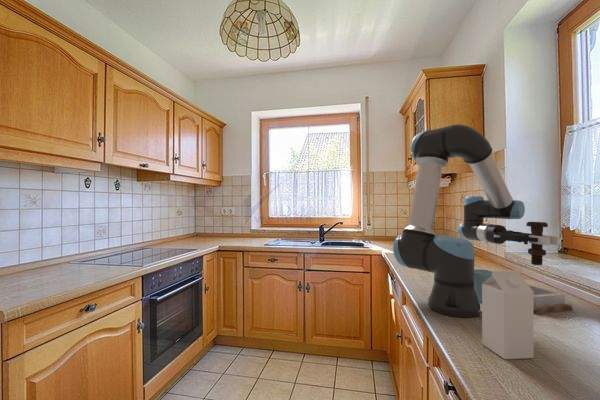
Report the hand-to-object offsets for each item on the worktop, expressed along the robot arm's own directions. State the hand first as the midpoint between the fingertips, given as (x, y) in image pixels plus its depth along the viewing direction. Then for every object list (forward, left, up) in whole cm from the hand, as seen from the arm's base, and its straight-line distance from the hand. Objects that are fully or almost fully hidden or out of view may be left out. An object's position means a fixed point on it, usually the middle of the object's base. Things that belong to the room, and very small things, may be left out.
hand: (553, 241), depth 98 cm
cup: (-18, +10, -22) cm, 30 cm away
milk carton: (-42, -20, -22) cm, 52 cm away
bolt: (0, +5, -9) cm, 11 cm away
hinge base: (-5, +3, -22) cm, 23 cm away
